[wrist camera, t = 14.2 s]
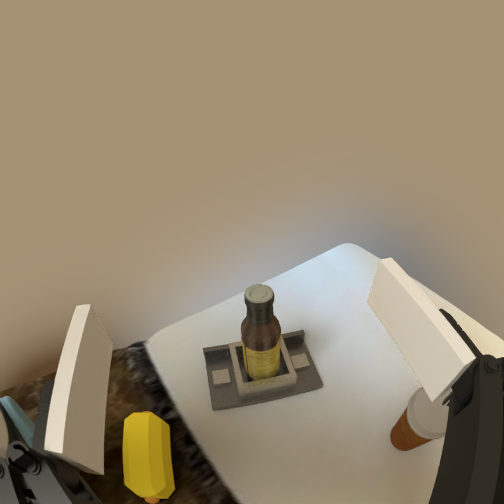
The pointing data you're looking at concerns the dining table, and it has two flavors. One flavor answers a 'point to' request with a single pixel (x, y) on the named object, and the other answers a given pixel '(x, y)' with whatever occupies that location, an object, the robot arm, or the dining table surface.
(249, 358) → the sauce bottle
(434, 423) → the disposable coffee cup
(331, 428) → the dining table surface
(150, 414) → the hot dog
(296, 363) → the bottle holder
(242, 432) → the dining table surface
